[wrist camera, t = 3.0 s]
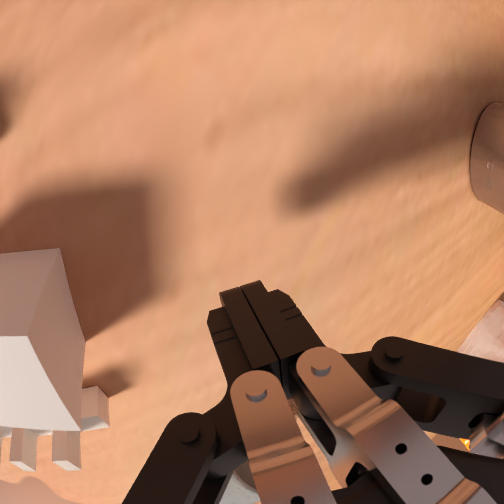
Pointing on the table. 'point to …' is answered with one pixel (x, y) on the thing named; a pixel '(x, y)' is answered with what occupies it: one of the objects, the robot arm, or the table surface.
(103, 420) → the notched wall frame
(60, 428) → the white cube
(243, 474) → the ceramic mug
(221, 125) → the table surface
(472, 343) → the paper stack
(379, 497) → the robot arm
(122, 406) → the table surface
